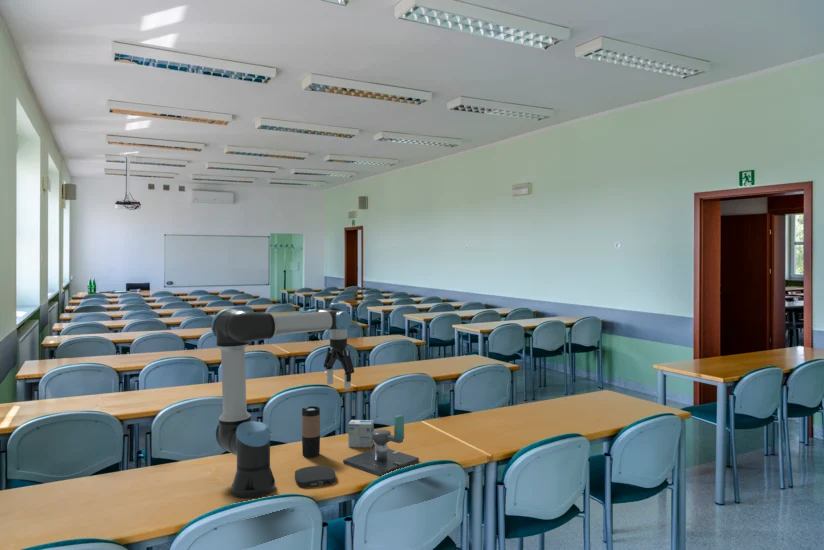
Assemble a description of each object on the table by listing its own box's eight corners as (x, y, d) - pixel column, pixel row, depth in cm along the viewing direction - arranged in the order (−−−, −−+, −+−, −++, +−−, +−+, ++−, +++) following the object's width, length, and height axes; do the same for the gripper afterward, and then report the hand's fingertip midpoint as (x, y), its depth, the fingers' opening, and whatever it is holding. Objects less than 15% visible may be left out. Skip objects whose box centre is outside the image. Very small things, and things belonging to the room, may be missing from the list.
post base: (382, 476, 215) (381, 453, 214) (343, 463, 229) (343, 441, 229) (418, 461, 231) (418, 439, 231) (380, 449, 246) (380, 429, 245)
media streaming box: (330, 470, 222) (330, 463, 222) (337, 484, 208) (337, 476, 208) (293, 475, 217) (293, 467, 217) (297, 489, 204) (297, 481, 203)
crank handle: (396, 448, 219) (396, 419, 219) (367, 440, 230) (367, 411, 229) (409, 443, 225) (409, 414, 225) (380, 435, 236) (380, 408, 235)
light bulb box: (374, 443, 255) (374, 419, 255) (371, 448, 248) (371, 423, 248) (351, 442, 256) (351, 419, 256) (348, 447, 249) (347, 423, 249)
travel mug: (318, 458, 235) (318, 410, 235) (300, 458, 235) (300, 410, 235) (321, 452, 243) (321, 406, 242) (304, 451, 243) (303, 406, 243)
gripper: (362, 340, 238) (362, 389, 238) (330, 334, 257) (330, 380, 257) (347, 341, 233) (347, 392, 233) (315, 336, 252) (316, 383, 252)
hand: (338, 386), depth 245 cm, fingers open, 13 cm apart
